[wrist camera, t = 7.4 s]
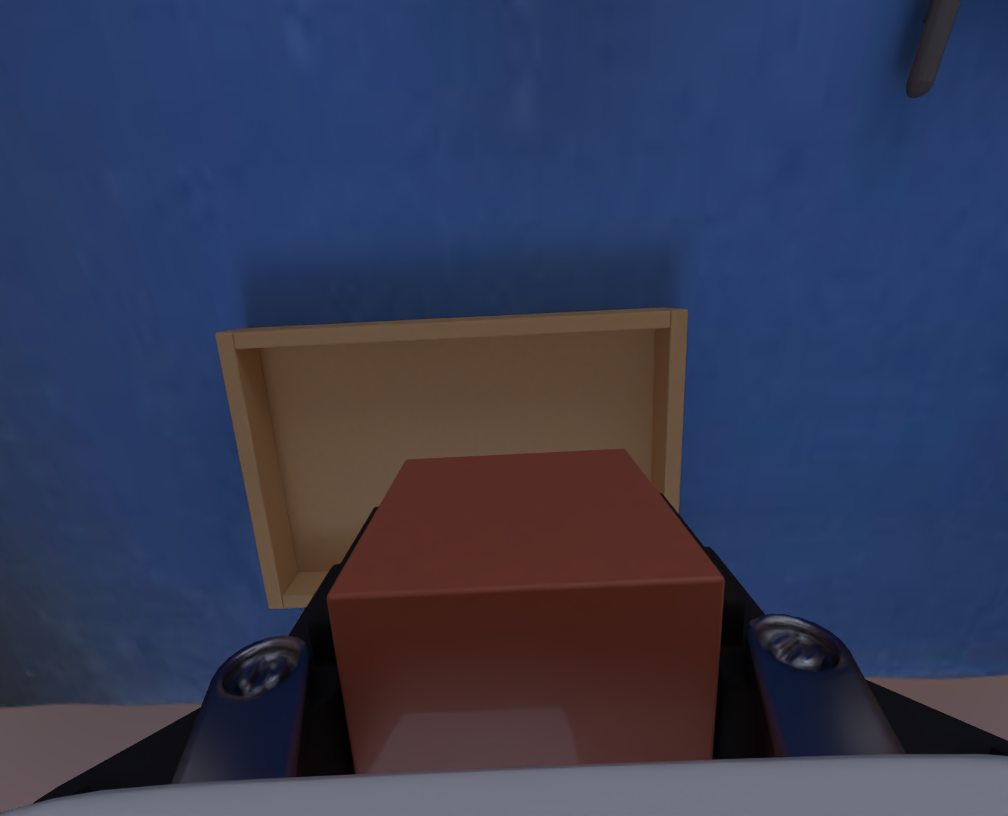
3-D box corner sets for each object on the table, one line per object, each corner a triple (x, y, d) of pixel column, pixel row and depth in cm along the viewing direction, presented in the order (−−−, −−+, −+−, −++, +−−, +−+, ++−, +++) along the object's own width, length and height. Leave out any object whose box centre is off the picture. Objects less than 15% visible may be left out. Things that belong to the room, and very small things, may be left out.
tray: (291, 578, 28) (268, 609, 25) (246, 327, 24) (213, 332, 22) (658, 561, 28) (675, 591, 25) (667, 306, 24) (688, 309, 21)
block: (425, 645, 12) (371, 888, 7) (405, 458, 11) (323, 596, 6) (623, 636, 12) (706, 875, 7) (625, 447, 11) (727, 577, 6)
